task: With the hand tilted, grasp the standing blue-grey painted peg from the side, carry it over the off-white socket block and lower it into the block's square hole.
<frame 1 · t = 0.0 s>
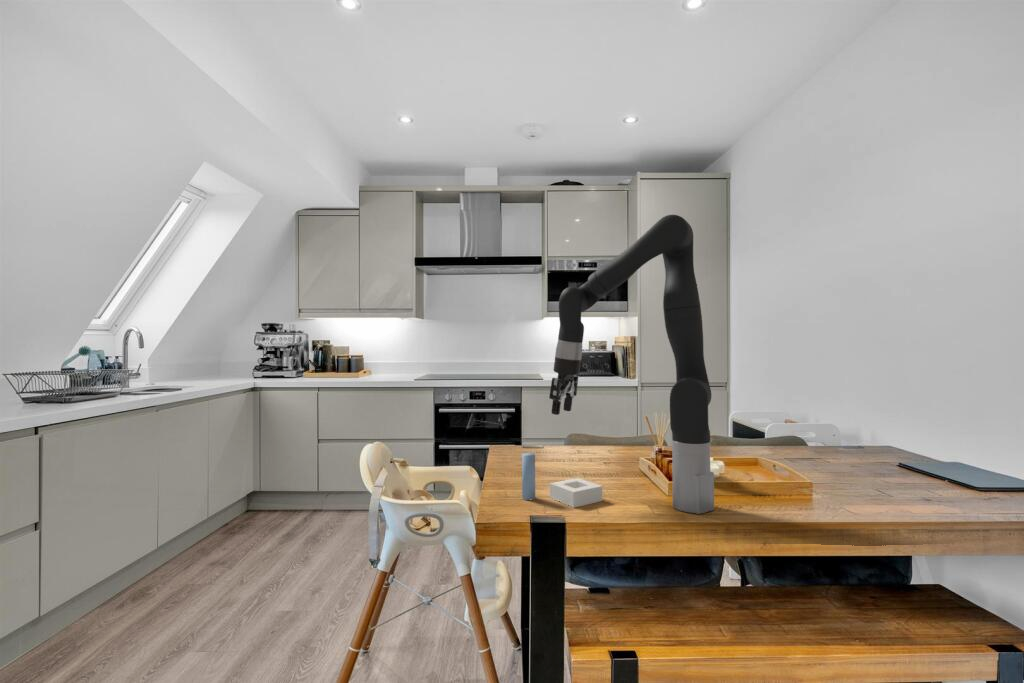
hand: (561, 412, 151), 22 cm above the table, tool pointing down, fingers open, 8 cm apart
socket: (575, 499, 141), on the table
peg: (528, 498, 143), on the table
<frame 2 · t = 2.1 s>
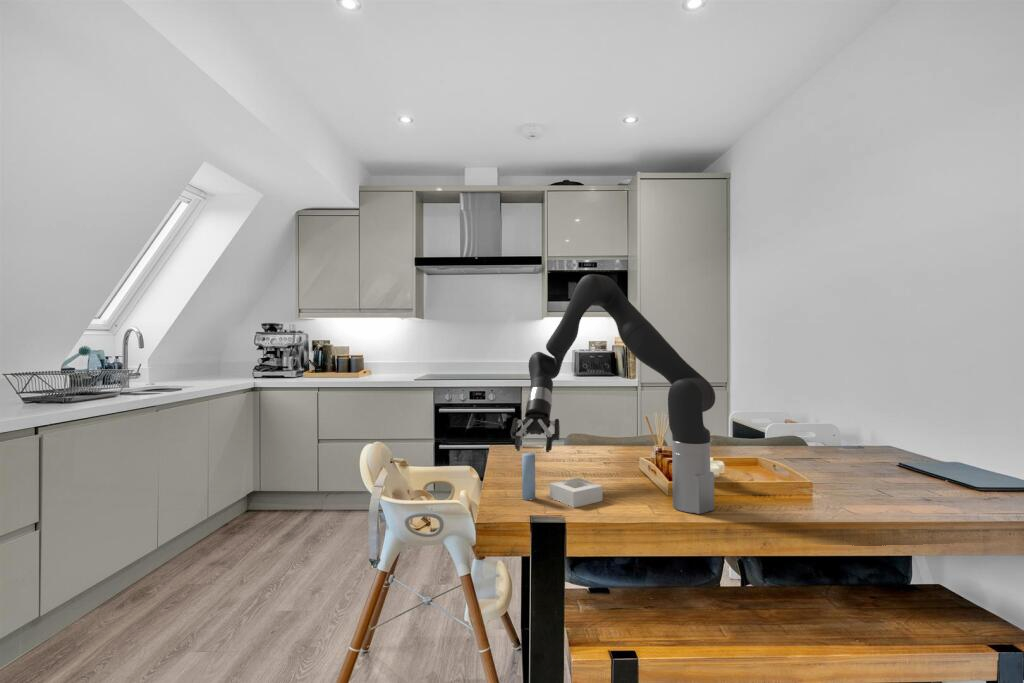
hand: (532, 450, 149), 12 cm above the table, tool tilted 45°, fingers open, 8 cm apart
nothing on the table moved.
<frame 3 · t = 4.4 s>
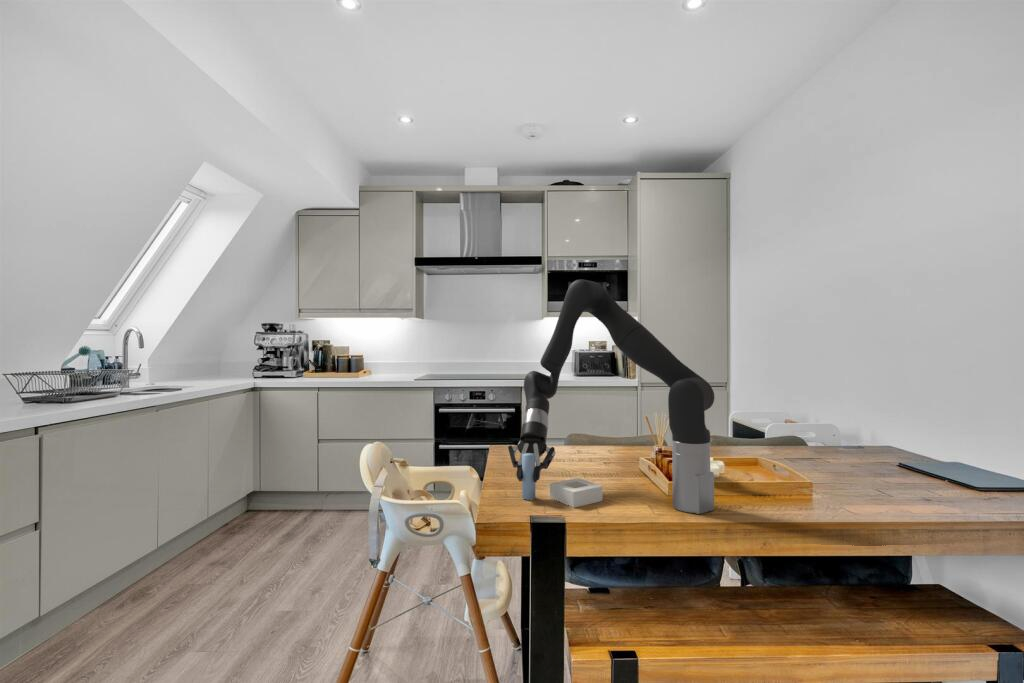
hand: (527, 480, 141), 6 cm above the table, tool tilted 45°, fingers closed on peg, 3 cm apart
peg: (528, 498, 143), on the table, touching gripper
everything else where it was.
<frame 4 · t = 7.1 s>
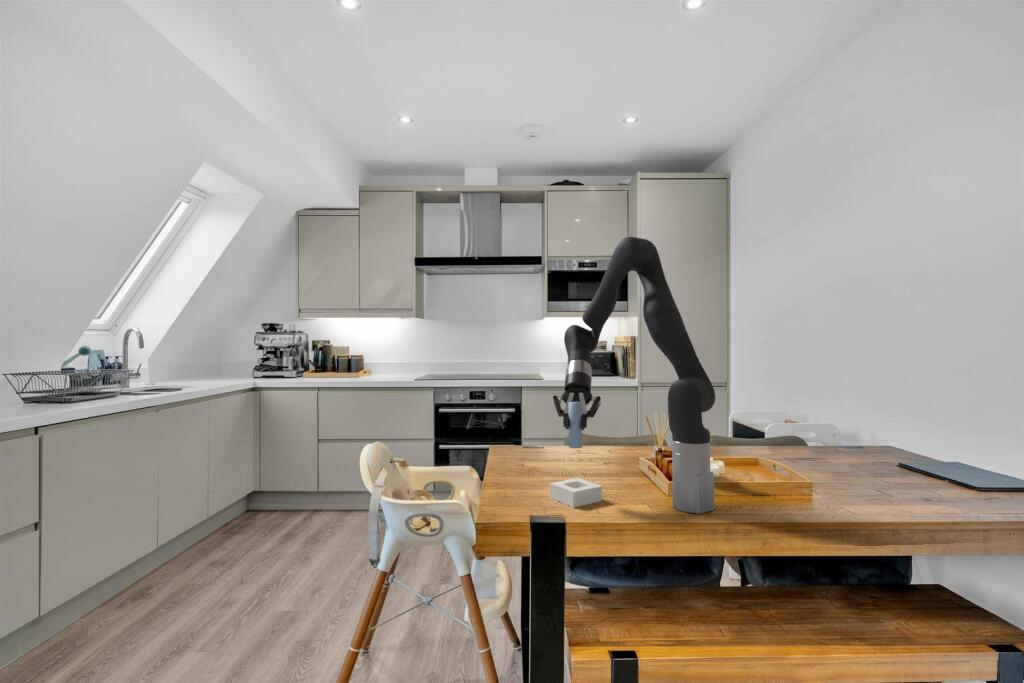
hand: (574, 427, 139), 20 cm above the table, tool tilted 45°, fingers closed on peg, 3 cm apart
peg: (575, 446, 141), point 14 cm above the table, touching gripper
everything else where it was.
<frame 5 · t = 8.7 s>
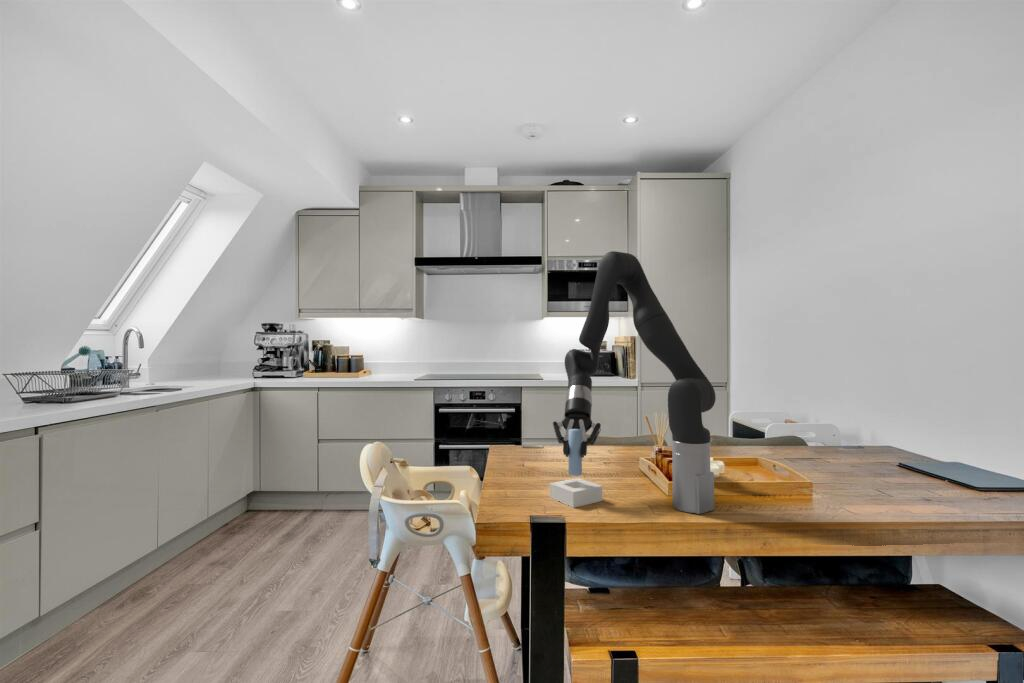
hand: (574, 455, 140), 12 cm above the table, tool tilted 45°, fingers closed on peg, 3 cm apart
peg: (575, 474, 142), point 7 cm above the table, touching gripper
everything else where it was.
when the fingers open (8 cm above the table, at t = 10.0 s): peg drops 3 cm, resting in socket.
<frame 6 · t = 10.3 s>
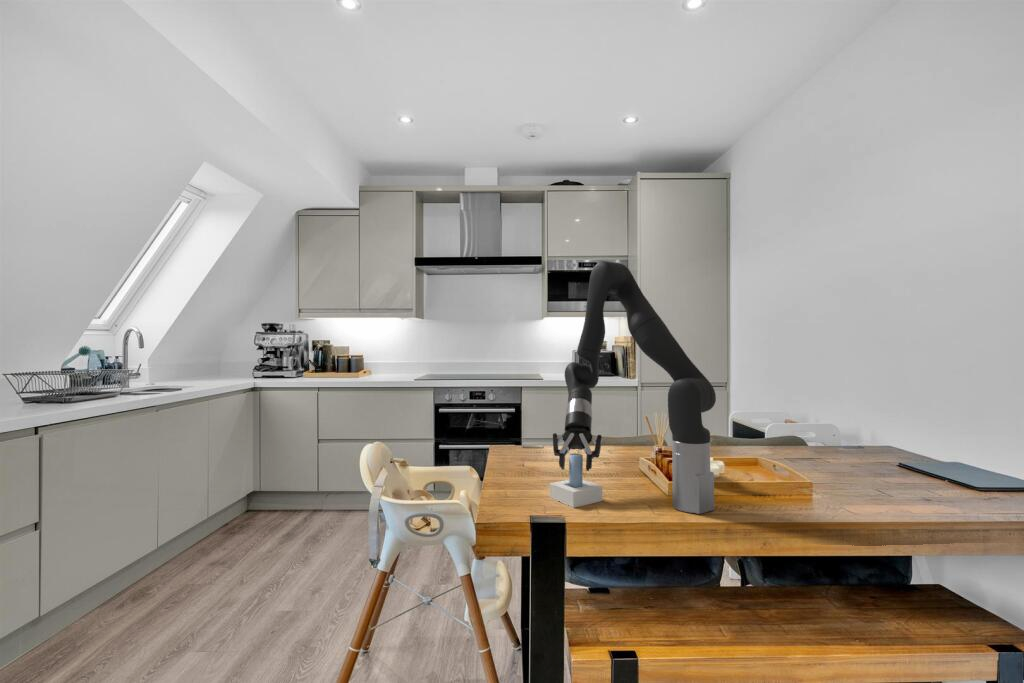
hand: (575, 468, 140), 9 cm above the table, tool tilted 45°, fingers open, 6 cm apart
peg: (575, 499, 142), resting in socket
everything else where it was.
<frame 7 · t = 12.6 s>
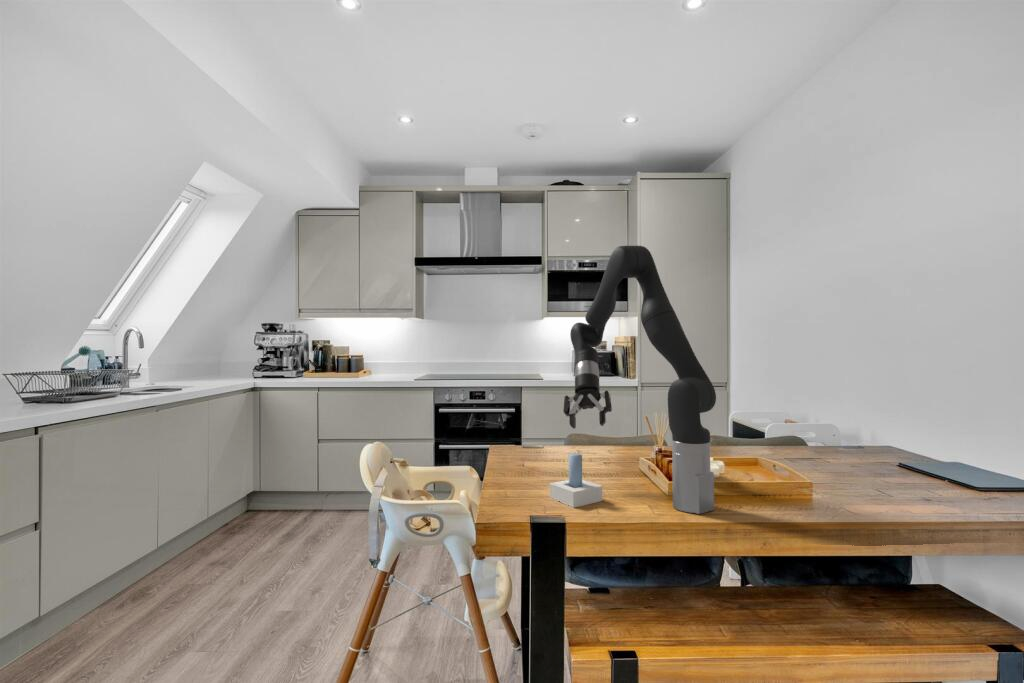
hand: (587, 426, 154), 18 cm above the table, tool tilted 35°, fingers open, 8 cm apart
nothing on the table moved.
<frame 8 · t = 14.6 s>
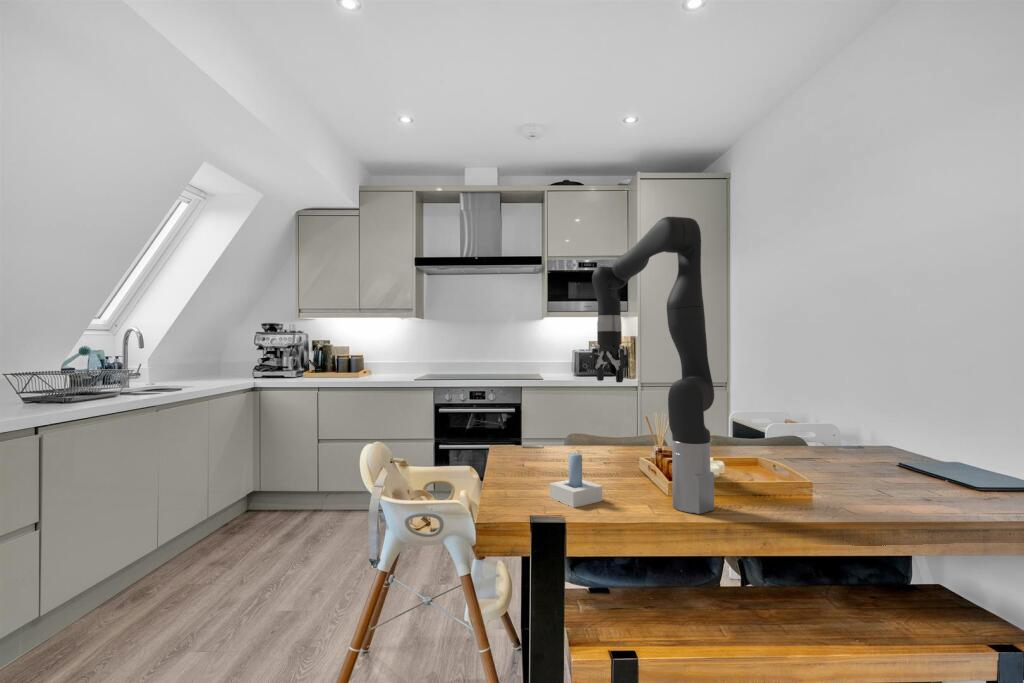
hand: (609, 381, 164), 30 cm above the table, tool pointing down, fingers open, 8 cm apart
nothing on the table moved.
at the end: peg 0.1 cm off-centre on the socket, point 0.0 cm above the socket's base; peg tilted 0°; the gripper is holding nothing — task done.
